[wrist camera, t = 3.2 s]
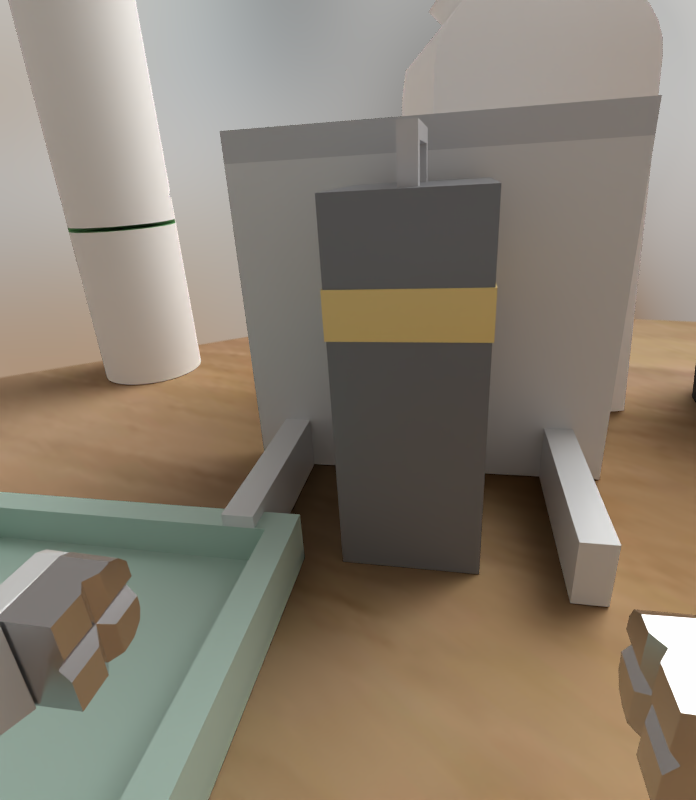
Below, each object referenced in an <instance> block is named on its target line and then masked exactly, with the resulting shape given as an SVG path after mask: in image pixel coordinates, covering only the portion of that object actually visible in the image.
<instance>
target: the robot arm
mask: <svg viewBox="0 0 696 800" xmlns="http://www.w3.org/2000/svg"><path fill="white" fill-rule="evenodd" d="M131 576H132V575H131V573H130V570H129V567H128V564H127V561H125V560H122V559H120V558H114V557H107V556H99V555H91V554H83V553H76V552H63V551H55V550H48V549H46V550H43V551H40V552H37V553H35V554H34V555H33V556H32V557H31V558H29V559H28V560H27V561H26V562H25V563H24V564H23V565H22V566H21V567H19V568H18V569H17V570H16V571H15V572H14V573H13V574H12V575H11V576H9V577H8V578H7V579H6V580H5V581H4V582H3V583H2V584H1V585H0V736H1V735H2V734H3V733H5V732H6V731H7V730H9V729H10V728H11V727H13V726H14V725H15V724H17V723H18V722H19V721H21V720H22V719H23V718H25V717H26V716H27V715H29V714H30V713H31V712H33V711H34V710H35V709H36V706H44V707H51V708H59V709H66V710H74V711H81V712H83V711H84V710H85V709H86V707H87V706H88V704H89V703H90V701H91V700H92V698H93V697H94V696H95V694H96V693H97V691H98V690H99V688H100V687H101V686H102V684H103V683H104V681H105V680H106V678H107V677H108V675H109V662H110V661H111V660H113V659H115V658H116V657H118V656H119V655H121V654H122V653H124V652H125V651H126V649H127V648H128V646H129V645H130V643H131V642H132V640H133V639H134V637H135V634H136V631H137V628H138V625H139V622H140V604H139V600H138V596H137V595H136V594H135V593H134V592H133V591H132V590H131V589H130V588H129V587H128V586H127V583H128V582H129V580H130V578H131ZM626 630H627V633H628V636H629V638H630V641H631V644H632V645H630V646H629V647H627V648H626V649H625V650H623V651H622V652H621V657H620V663H619V692H620V697H621V703H622V707H623V711H624V714H625V718H626V721H627V723H628V724H629V725H630V726H631V727H632V729H633V730H634V731H635V732H636V733H637V734H638V735H639V736H640V737H641V738H640V743H639V747H638V751H637V759H638V762H639V765H640V769H641V772H642V775H643V778H644V782H645V785H646V788H647V792H648V795H649V798H650V800H696V615H690V614H679V613H668V612H657V611H646V610H635V609H634V610H633V611H632V613H631V614H630V616H629V620H628V624H627V628H626Z"/></svg>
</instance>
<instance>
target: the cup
mask: <svg viewBox="0 0 696 800" xmlns="http://www.w3.org/2000/svg"><path fill="white" fill-rule="evenodd" d="M692 397H693V399H694V401H696V367H695V375H694V384H693V393H692Z"/></svg>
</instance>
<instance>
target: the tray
mask: <svg viewBox="0 0 696 800" xmlns="http://www.w3.org/2000/svg"><path fill="white" fill-rule="evenodd" d="M223 511H224V509H221V508H207V507H194V506H181V505H167V504H154V503H141V502H128V501H114V500H101V499H88V498H74V497H61V496H48V495H35V494H21V493H8V492H0V585H1V584H2V583H3V582H4V581H5V580H6V579H7V578H8V577H9V576H11V575H12V574H13V573H14V572H15V571H16V570H17V569H18V568H19V567H21V566H22V565H23V564H24V563H25V562H26V561H27V560H28V559H29V558H31V557H32V556H33V555H34V554H35V553H37V552H40V551H43V550H46V549H48V550H55V551H63V552H76V553H83V554H91V555H99V556H107V557H114V558H120V559H122V560H125V561H127V564H128V567H129V570H130V573H131V575H132V576H131V578H130V580H129V582H128V583H127V586H128V587H129V588H130V589H131V590H132V591H133V592H134V593H135V594H136V595H137V596H138V600H139V604H140V622H139V625H138V628H137V631H136V634H135V637H134V639H133V640H132V642H131V643H130V645H129V646H128V648H127V649H126V651H125V652H124V653H122V654H121V655H119V656H118V657H116V658H115V659H113V660H111V661H110V662H109V675H108V677H107V678H106V680H105V681H104V683H103V684H102V686H101V687H100V688H99V690H98V691H97V693H96V694H95V696H94V697H93V698H92V700H91V701H90V703H89V704H88V706H87V707H86V709H85V710H84V711H83V712H81V711H74V710H66V709H59V708H51V707H44V706H36V709H35V710H34V711H33V712H31V713H30V714H29V715H27V716H26V717H25V718H23V719H22V720H21V721H19V722H18V723H17V724H15V725H14V726H13V727H11V728H10V729H9V730H7V731H6V732H5V733H3V734H2V735H1V736H0V800H208V799H209V797H210V794H211V792H212V789H213V787H214V784H215V782H216V779H217V777H218V774H219V772H220V769H221V767H222V764H223V762H224V759H225V757H226V754H227V752H228V749H229V747H230V744H231V742H232V739H233V737H234V734H235V731H236V729H237V726H238V724H239V721H240V719H241V716H242V714H243V711H244V709H245V706H246V704H247V701H248V699H249V696H250V694H251V691H252V689H253V686H254V684H255V681H256V679H257V676H258V674H259V671H260V669H261V666H262V664H263V661H264V659H265V656H266V654H267V651H268V649H269V646H270V644H271V641H272V639H273V636H274V634H275V631H276V629H277V626H278V623H279V621H280V618H281V616H282V613H283V611H284V608H285V606H286V603H287V601H288V598H289V596H290V593H291V591H292V588H293V586H294V583H295V581H296V578H297V576H298V573H299V571H300V568H301V566H302V563H303V561H304V558H305V555H304V546H303V537H302V528H301V520H300V514H287V513H274V512H264V513H263V514H262V516H261V518H260V520H259V521H258V523H257V525H256V527H255V528H242V527H230V526H223V522H222V517H221V514H222V512H223Z"/></svg>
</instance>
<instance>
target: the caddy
mask: <svg viewBox="0 0 696 800" xmlns="http://www.w3.org/2000/svg"><path fill="white" fill-rule="evenodd" d="M396 162H397V183H379V184H361V185H351V186H347V187H342V188H337V189H332V190H327V191H322V192H317V193H315V203H316V216H317V229H318V242H319V255H320V268H321V281H322V289H321V290H320V295H321V307H322V320H323V333H324V342H326V346H327V359H328V372H329V385H330V398H331V411H332V424H333V437H334V451H335V464H336V477H337V490H338V503H339V516H340V529H341V542H342V555H343V562H353V563H364V564H374V565H385V566H396V567H407V568H417V569H428V570H439V571H450V572H461V573H471V574H479V565H480V548H481V531H482V513H483V496H484V479H485V461H486V444H487V427H488V409H489V392H490V375H491V357H492V343H494V338H495V321H496V304H497V284H496V270H497V253H498V236H499V218H500V201H501V184H502V183H501V182H499V181H497V180H495V179H493V178H491V177H486V178H468V179H450V180H433V181H428V127H427V126H426V125H425V124H424V123H423V122H422V121H421V120H420V119H419V118H410V119H398V120H396Z"/></svg>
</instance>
